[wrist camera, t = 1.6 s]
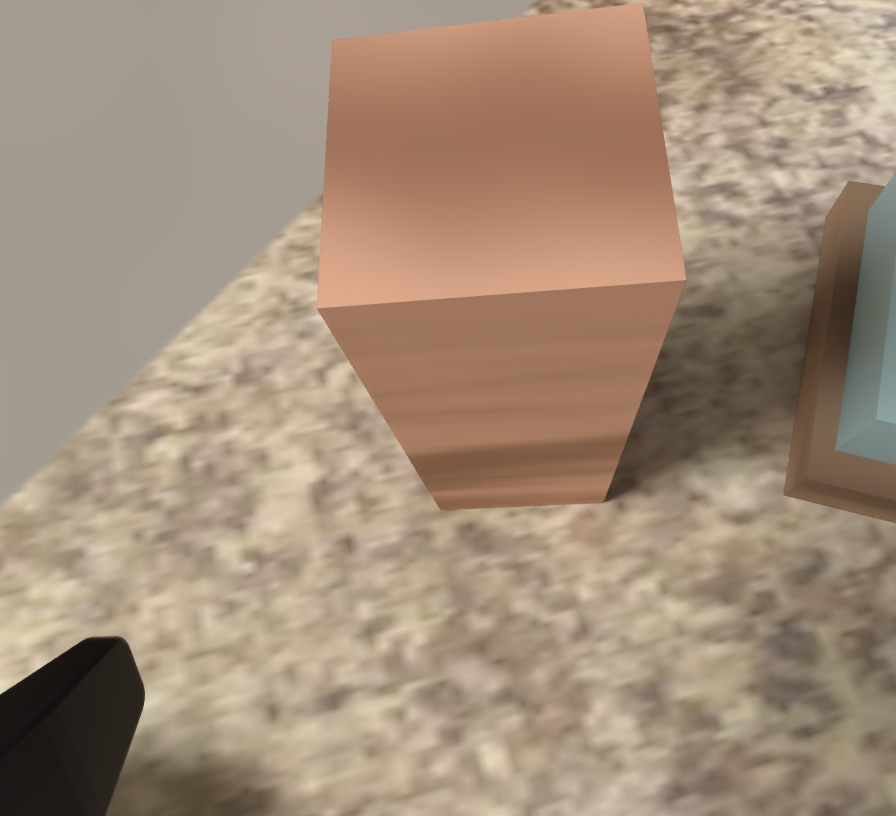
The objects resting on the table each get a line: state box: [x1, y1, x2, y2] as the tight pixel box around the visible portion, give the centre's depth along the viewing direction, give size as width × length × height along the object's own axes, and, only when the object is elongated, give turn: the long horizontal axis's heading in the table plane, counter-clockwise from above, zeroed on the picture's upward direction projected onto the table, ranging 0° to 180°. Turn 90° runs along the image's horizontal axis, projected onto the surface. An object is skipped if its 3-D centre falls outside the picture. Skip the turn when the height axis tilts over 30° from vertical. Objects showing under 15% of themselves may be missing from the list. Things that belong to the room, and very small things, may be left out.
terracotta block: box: [317, 3, 686, 510], centre depth 16 cm, size 5×5×13 cm
